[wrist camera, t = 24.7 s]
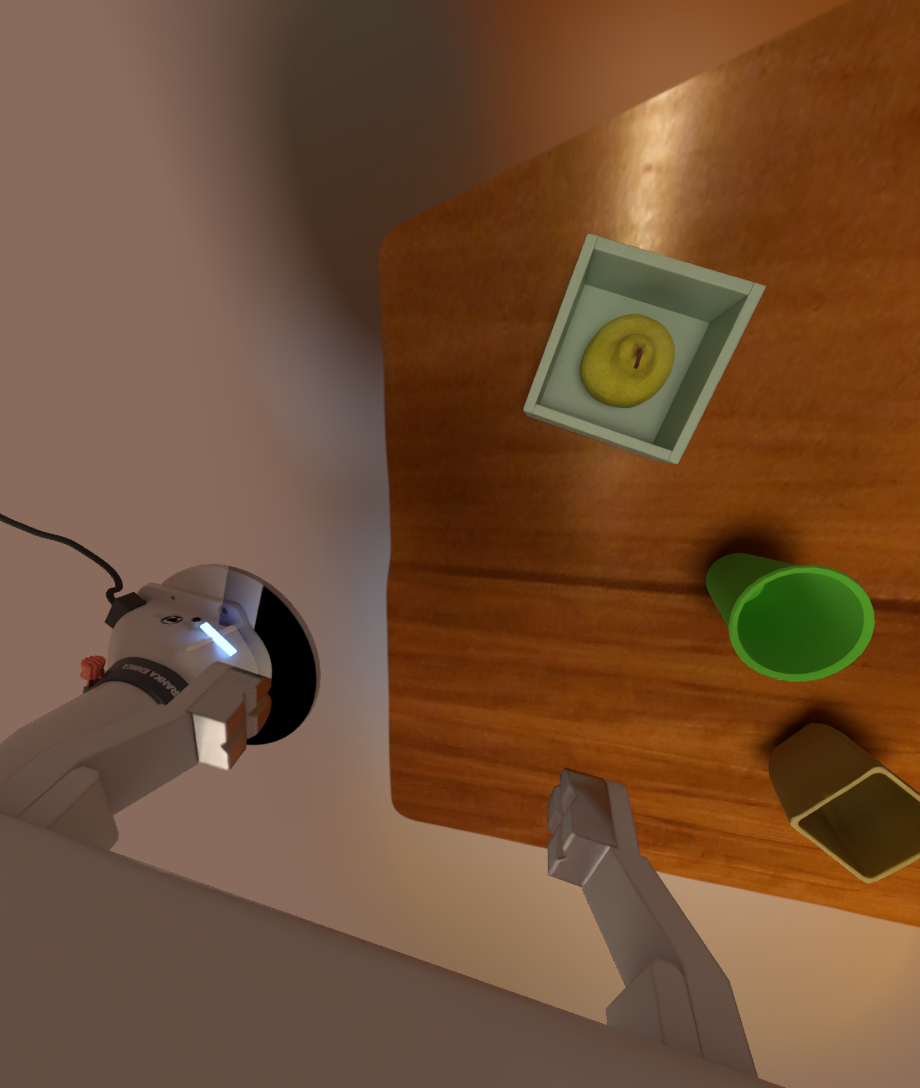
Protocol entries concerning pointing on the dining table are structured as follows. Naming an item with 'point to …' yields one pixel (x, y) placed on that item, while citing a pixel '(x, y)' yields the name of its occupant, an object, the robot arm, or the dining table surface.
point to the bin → (666, 296)
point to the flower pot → (846, 802)
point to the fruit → (627, 361)
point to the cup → (790, 615)
